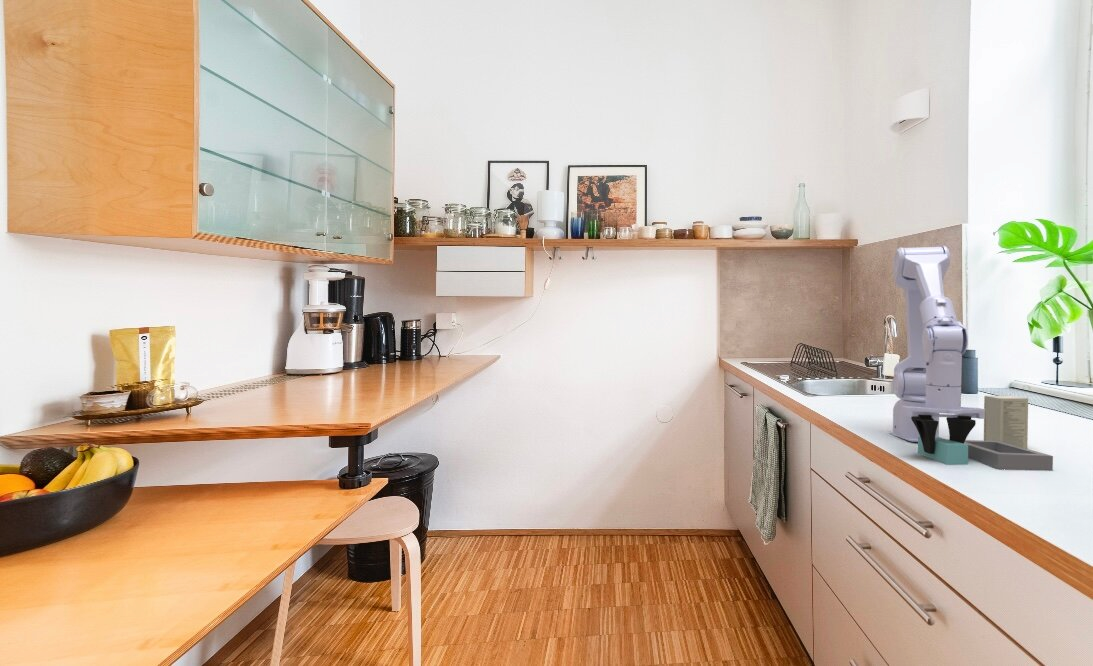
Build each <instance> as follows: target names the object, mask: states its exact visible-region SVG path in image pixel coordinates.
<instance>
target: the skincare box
mask: <svg viewBox="0 0 1093 666" xmlns="http://www.w3.org/2000/svg"><path fill="white" fill-rule="evenodd" d="M983 401H984V404H983V409H985V419H983V441H1000V442H1004V443H1008V444H1011V445H1015V446H1018V447H1022V448H1026V449H1028V441H1029V440H1028V439H1029V438H1028V437H1029V436H1028V435H1029V434H1028V433H1029V430H1028V429H1029V425H1028V424H1029V398H1028V397H1022V396H1017V395H1011V394H1010V395H984V400H983Z"/></svg>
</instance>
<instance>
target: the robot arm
mask: <svg viewBox="0 0 1093 666" xmlns="http://www.w3.org/2000/svg"><path fill="white" fill-rule="evenodd" d="M950 263H951V253H950V250H949V248H948V247H947V246H946V245H941V246H924V247H898V248H897V249H896V250H895V252H894V257H893V280H894V282H895V284H894V285H895V286H897V287H898V288H901V289H902V290H903V295H904V304H905V322H906V324H905V327H906V328H905V329H906V347H907V348H906V350H907V352H906V353H907V357H906V358H904V359H902V360H901V361H899V362H898V363H896V365H894V368H893V377H892V378H893V379H892V390H893V393H894V395H895V396H896V398H898V399H899V400H897V401H896V402H895V403H894V405H893V409H892V431H888V434H889V435H892V436H894V437H896V438H900V439H903V440H906V441H907V442H908V441H909V442H911V443H912V442H913V443H918V436H920V438H921V441H922V444H923V448H924V452H926V453H929V454H934V450H935V437H940V418H946V423H947V428H948V434H949V439H948V440H952V441H955V442H959V443H963V444H964V442H965V440H967V438H968V436H969V434H970V433H971V431H972V430H973V429H974V427H976V424H977V423H976V421H977V420H975V419H979V420H982V419H983V420H984V419H985V409H984V408H981V407H969V406H967V407H966V406H962V372H963V371H962V368H963V366H962V365H963V355H964V354H965V353H966V351H967V348H968V341H969V340H968V339H969V337H968V331H967V327H966V326H965V325H963V324H962V321H959V320H958V318H957V313H956V311H955V306H954V301H952V300H951V298H949V297H947V296H945V291H944V281H943V280H944V279H945V276H946V274H947V271H948V269H949V267H950Z"/></svg>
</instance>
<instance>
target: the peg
mask: <svg viewBox="0 0 1093 666" xmlns="http://www.w3.org/2000/svg"><path fill="white" fill-rule="evenodd" d="M917 454H919V455H921V456H924V457H927V458H929V459H931V460H934V461H937V462H940V463H941V464H944V465H947V466H958V465H962V466H963V465H964V466H965V465H968V464H969V457H968V445H967V444H963V443H959V442H955V441H952V440H949V439H948V438H947V439H946V438H943V437H940V436H939V437H935V450H934V454H929V453H926V452H924V448H923V444H922V441H921V438H920V436H918V442H917Z"/></svg>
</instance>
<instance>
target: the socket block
mask: <svg viewBox="0 0 1093 666" xmlns="http://www.w3.org/2000/svg"><path fill="white" fill-rule="evenodd" d="M964 444H967V445H968V459H971V460H974V461H976V462H978V463H981V464H982V465H986V466H988V467H990V468H993V469H995V470H997V469H998V470H1000V471H1046V472H1047V471H1049V472H1050V471H1052V472H1053V471H1054V469H1053V468H1054V467H1053V466H1054V463H1053V462H1054V456H1053V455H1051V454H1048V453H1043V452H1040V451H1037V450H1032V449H1029V448H1027V449H1026V448H1022V447H1018V446H1015V445H1011V444H1008V443H1004V442H1000V441H984V440H981V439H980V440H978V439H977V440H974V439H966V440H965V442H964ZM1004 469H1005V470H1004ZM998 470H997V471H998Z"/></svg>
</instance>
